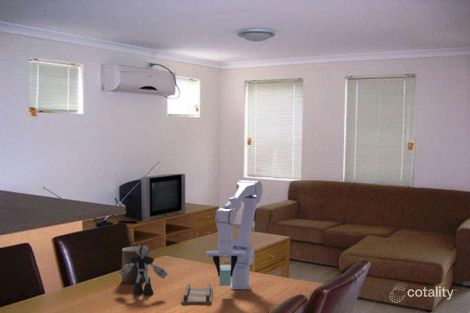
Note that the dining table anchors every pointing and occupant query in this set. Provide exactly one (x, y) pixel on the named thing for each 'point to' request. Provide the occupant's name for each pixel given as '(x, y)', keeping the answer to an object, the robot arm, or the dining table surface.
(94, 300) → the dining table surface
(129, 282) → the pillar candle
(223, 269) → the tall teal pillar block
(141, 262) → the robot
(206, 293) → the cradle
